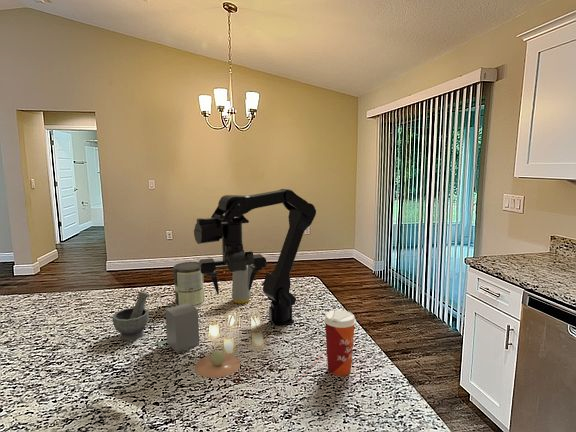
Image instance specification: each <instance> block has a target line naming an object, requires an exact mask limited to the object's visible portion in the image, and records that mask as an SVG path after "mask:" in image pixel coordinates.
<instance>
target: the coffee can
mask: <svg viewBox="0 0 576 432" xmlns="http://www.w3.org/2000/svg"><path fill="white" fill-rule="evenodd" d="M172 268H173V278H174V279H173V281H174V299H175V306H178V305H182V304H186V303H188V304H190V305H191V306H193V307H194V308H198V307H202V305H204V303H205V289H204V287H205V286H204V274H202V273H201V272H200V270H199V261H184V262H180V263H176V264H175V265H173V267H172Z"/></svg>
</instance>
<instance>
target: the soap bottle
mask: <svg viewBox="0 0 576 432" xmlns="http://www.w3.org/2000/svg"><path fill="white" fill-rule="evenodd" d="M231 284H232V285H231V286H232V288H231V298H232V299H233V303H236V304H246V303H248V302H249V301H250V299H251V298H252V297H251V296H252V295H251V294H252V293H251V289H250V290H248V265H247V269H246V270H245V271H242V270H241V271H235V272H232V283H231Z"/></svg>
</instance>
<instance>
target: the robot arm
mask: <svg viewBox="0 0 576 432" xmlns="http://www.w3.org/2000/svg"><path fill="white" fill-rule="evenodd" d="M279 204H282V206H284V209H286V210H287V211H289V213H288V225H289V226H288V230H287V233H286V236H285V238H284V241H283V245H282V247H281V250H280V253H279V256H278V259H277V263H276V265H275V268H274V269H273V270H272V272H266V274H265V277H264V281H263V282H262V284H261V285H262V286H263V287H262V291H263V293H264V295H265V296H266V297H267V300H268V301H270V306H269V308H268V312H269V313H268V315H269V316H268V319H269V321H271V323H272V324H273V325H274V326H282V325H288V324H295V320H294V319H293V306H294V305H295V304H296V302H297V297H295V296H294V294H292V293H291V291H290V289H291V283H292V282H291V277H290V275H291V271H292V269H293V266H294V262H295V259H296V257H297V254H298V251H299V248H300V244H301V241H302V239H303V236H304V233H305V231H306V230H307V229H308V228H309V227H310V226H311V225H312V223H313V222H314V219H315V218H316V215H317V209H316V206H315V205H314V204H313V203H311V202H308V201H307V200H306V199H304V198H302V197H301V196H299V195H298V194H296V193H295V192H294V191H293V190H292V189H288V188H281V189H278V190H273V191H267V192H262V193H256V194H250V195H239V194H237V195H236V194H224V195H222V196H221V197H220V199H219V201H218V203H217V205H218V206H216V208H215V210H214V212H213V213H212V214H211V217H209V218H197V219H196V223H195V225H194V229H193V236H194V240H195V242H196V244H197V245H200V244H208V243H216V242H219V241H220V240H221V242H222V243H221V247H222V248H221V249H222V260H218V261H217V260H216V261H215V260H214V258H200V260H199V261H198V262H199V270H200V272H201V273H202V274H203V275H205V276H207V277H210V278H211V282H212V284H213V287H214V289H215V292H216V294H217V295H219V294H220V292H219V291H220V290H219V281H218V274H217V271H216V270H217V269H219V268H220V269H221V268H228V271H229V272H231V273H233V272H235V271H241V270H242V271H245V270H246V269H247V265H248V290H250V291H251V288H252V286H253V283H254V280H255V277H256V275H257V273H259V271H262V270H263V268H266V267H267V265H268V264H267V258H266V257H264V255H262V254H261V253H256V254H254V252H253V251H252V250H251V251H245V250H244V244H243V224H249V222H250V221H249V220H248V218H246V217H245V216H244V215H246V214H248V213H249V212H251V211H253V210H255V209H260V208H264V207H270V206H275V205H279Z"/></svg>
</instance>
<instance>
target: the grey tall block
mask: <svg viewBox="0 0 576 432" xmlns="http://www.w3.org/2000/svg"><path fill="white" fill-rule="evenodd" d="M164 312H165V324H166V325H165V327H166V341H167V342H166V343H167V345H168V346H169V347H171V349H173V350H174V351H175V352H176V353H179V352H183V351H185V350H188V349H191V348H194V347H197V346H200V329H199V325H200V324H199V309H197V307H195V308H194V307H193V306H191V305H190V304H188V303H186V304H182V305H178V306H176V305H175V306H171V307H167V308H165V311H164Z"/></svg>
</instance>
